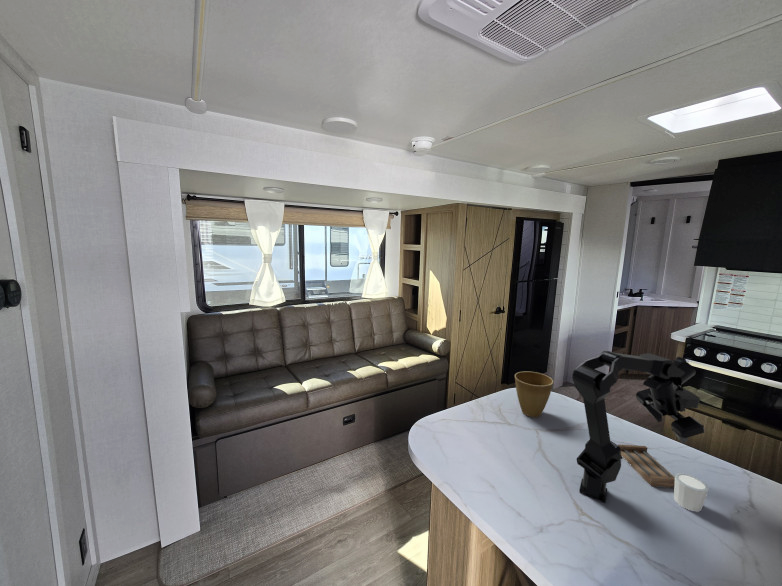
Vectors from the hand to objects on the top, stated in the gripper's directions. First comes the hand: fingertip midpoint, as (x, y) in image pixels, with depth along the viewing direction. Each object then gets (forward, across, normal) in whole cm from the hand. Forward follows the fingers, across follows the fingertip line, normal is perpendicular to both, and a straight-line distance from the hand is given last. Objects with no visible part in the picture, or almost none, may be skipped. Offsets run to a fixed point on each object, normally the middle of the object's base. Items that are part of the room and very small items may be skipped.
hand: (671, 431), depth 98 cm
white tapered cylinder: (+9, -15, +9) cm, 20 cm away
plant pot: (+6, +32, +34) cm, 47 cm away
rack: (+11, -1, +10) cm, 15 cm away
